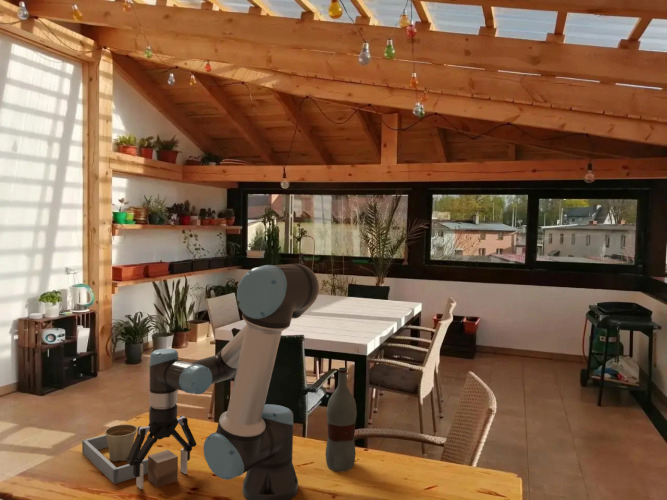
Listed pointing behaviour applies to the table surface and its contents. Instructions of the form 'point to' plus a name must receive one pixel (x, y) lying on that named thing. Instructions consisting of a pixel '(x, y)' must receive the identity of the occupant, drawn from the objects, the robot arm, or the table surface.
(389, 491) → the table surface
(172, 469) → the walnut block
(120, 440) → the flower pot
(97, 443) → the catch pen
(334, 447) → the bottle
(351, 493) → the table surface
